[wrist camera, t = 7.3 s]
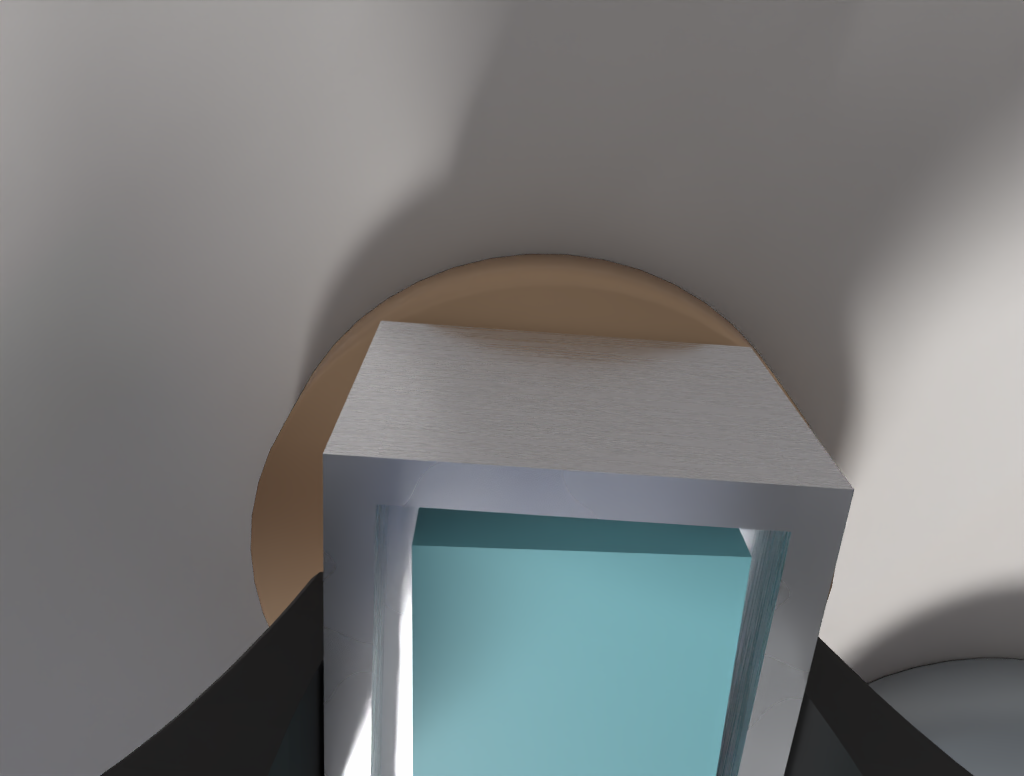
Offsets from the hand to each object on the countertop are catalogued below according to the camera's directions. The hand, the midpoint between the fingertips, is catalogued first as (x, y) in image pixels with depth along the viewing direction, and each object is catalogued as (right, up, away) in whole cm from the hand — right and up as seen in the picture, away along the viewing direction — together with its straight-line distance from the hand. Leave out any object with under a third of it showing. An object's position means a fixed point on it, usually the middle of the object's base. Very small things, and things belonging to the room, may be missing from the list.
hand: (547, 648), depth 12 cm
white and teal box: (0, 0, +1) cm, 2 cm away
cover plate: (0, -1, -1) cm, 1 cm away
